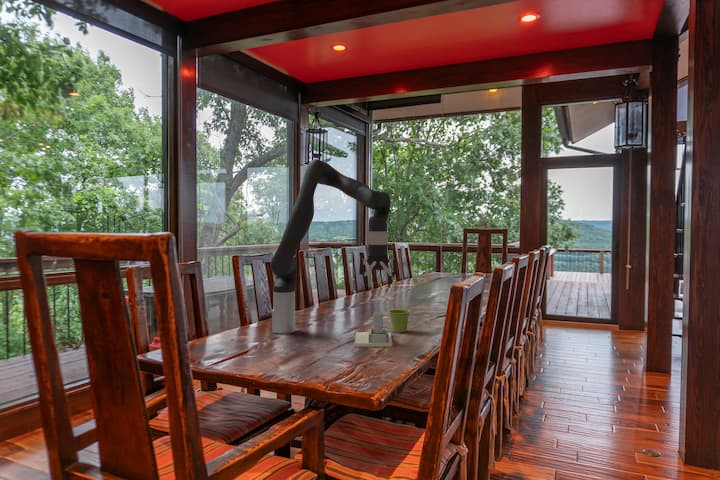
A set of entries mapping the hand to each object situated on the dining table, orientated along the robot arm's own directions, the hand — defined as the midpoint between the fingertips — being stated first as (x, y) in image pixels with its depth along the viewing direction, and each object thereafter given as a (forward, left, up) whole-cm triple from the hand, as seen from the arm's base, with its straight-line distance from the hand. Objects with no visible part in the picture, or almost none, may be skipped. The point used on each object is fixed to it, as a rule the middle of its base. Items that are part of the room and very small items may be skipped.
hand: (378, 285), depth 176 cm
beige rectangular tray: (-2, +3, -22) cm, 22 cm away
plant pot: (+9, +19, -22) cm, 31 cm away
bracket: (0, 0, -21) cm, 21 cm away
